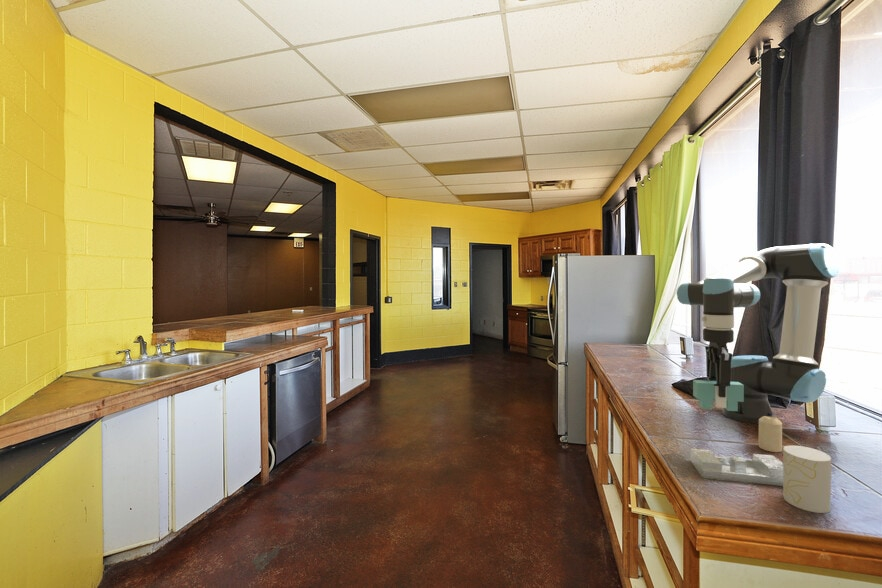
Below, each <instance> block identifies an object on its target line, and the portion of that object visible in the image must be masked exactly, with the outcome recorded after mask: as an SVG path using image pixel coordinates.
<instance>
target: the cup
mask: <svg viewBox="0 0 882 588" xmlns="http://www.w3.org/2000/svg"><path fill="white" fill-rule="evenodd" d="M782 451H783V454H782V455H783V462H782V463H783V486H782V487H783V488H782V491H783V492H782V497H783V499H784V500H785V501H786V502H787V503H788V504H790V505H792V506H794V507H796V508H798V509H800V510H804V511H807V512H812V513H818V514H827V513H830V511H831V510H832V509H831V503H832V501H831V499H832V497H831V496H832V493H831V491H832V457H831V456H830V455H829V454H828V453H826V452H824V451H821V450H819V449H816V448H813V447H807V446H803V445H785V446H783V448H782Z"/></svg>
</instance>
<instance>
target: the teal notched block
mask: <svg viewBox="0 0 882 588" xmlns="http://www.w3.org/2000/svg"><path fill="white" fill-rule="evenodd" d="M714 384H716V381H709V380H705V379H703V380H701V379H693V380H692V390H693V391H692V397H694V398H695V399H696V400H698V406H699V407H700V408H701V409H702V410H710V411H711V410H713V403H712V400H715V386H714ZM738 401H739V402H744V385H743V384H741V383H739V382H730V386H727V394H726V408H725V409H726V410H728V411H738Z"/></svg>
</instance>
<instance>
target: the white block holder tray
mask: <svg viewBox="0 0 882 588" xmlns="http://www.w3.org/2000/svg"><path fill="white" fill-rule="evenodd" d="M689 460H690V463H691V464H692V465H693V466H694V468H695V470H697V472H698V473H699V475H700V476H701V477H702V478H703V479H711V480H719V481H720V480H721V481H728V482H729V481H730V482H739V483H750V484H760V485H769V486H778V487H779V486H780V487H783V462H782V461H781V460H780V459H779V458H778V457H776V456H775V455H772V454H761V453H759V454H758V453H753V454H752V459H751V458H743V457H742V456H736V455H730V457H729V456H720V455H719V456H716V455H715V454H714V452H712V451H711V450H710V449H701V448H700V449H698V448H690V454H689Z"/></svg>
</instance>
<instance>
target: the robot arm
mask: <svg viewBox="0 0 882 588" xmlns="http://www.w3.org/2000/svg"><path fill="white" fill-rule="evenodd" d="M839 271H840V260H839V257H838V253H837V252H836V250H835V249H834V248H833V246H831V245H829V244H828V243H808V244H795V245H794V244H793V245H781V246H773V247H768V248H764V249H761V250H759V251H755V252H753V253H751V254H748V255H746V256H744V257H742V258H741V259H739V261H738V262H737V263H736V264H735V263H734V264H733V265H731V266H729V267H727V268H725V269H722V270H720V271H718V272H716V273H714V274H712V275H710V276H708V277H706V278H703V279H700V280H699V281H696V282H693V283H691V282H686V283H682V284H680V285H679V286H678V288H677V289H676V297H677V301H679V303H681V304H683V305H689V306H703V307H702V308H703V309H702V312H703V313H702V316H703V317H701V318H700V319H701V321H703V322H702V324H703V325H702V326H703V327H704V328H703V329H702V340H703V341H704V342H708V343H709V344H708V345H705V347H704V348H705V349H704V350H705V358H706V359H705V363H706V364H705V366H706V377H707V378H708V381H716V384H714V386H715V400H712V404H714V407H715V408H722V414H723V415H724V416H725V417H726V418H727V417H728V418H729V419H732V420H735V421H739V422H742V423H750V424H756V425H757V424H758V425H759V419H760V418H762V417H763V416H768V417H775V416H774V412H773V409H772V407H771V405H770V402H769V400H768V395H769V396H774V397H779V398H782V399H786V400H791V401H794V402H801V403H807V404H808V403H813V402H815V401H817V400H818V399H819V398H820V397H821V396H822V395H823V392H824V390H825V387H826V385H827V377H826V374H825V372H824V371H823V370H821V369H820V368H819V363H818V362H817V361H816V360H815V358H814V352H815V345H816V344H815V343H816V338H817V337H816V335H817V327H818V319H819V310H820V303H821V302H820V301H821V292H822V288H824V287H825V286H827V285H829V279H833V278H835V277H837V276H838V273H839ZM762 279H782V283H783V284H784V285H785V286H786V294H785V295H786V296H785V302H784V312H783V319H782V329H781V337H780V345H779V351H778V354H776V355H774V356H773V357H772V361H769V359H768V357H767V356H766V355H765V356H764V355H750V354H749V355H736V356H733V354H732V353H730V352H729V348H728V346H727V345H728V344H730V343H733V342H734V337H735V336H734V335H735V333H734V330H733V328H735V315H734V308H748V307H752V306H754V305H756V304H757V303H758V302H759V301H760V299H761V291H760V289H759V288H758V287H757V286H756V285H755V284H753V283H749V282H755V281H759V280H762ZM730 382H739V383H741V384H743V385H744V402H739V401H738V411H728V410H726V409H725V408H726V394H727V386H730Z"/></svg>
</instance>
